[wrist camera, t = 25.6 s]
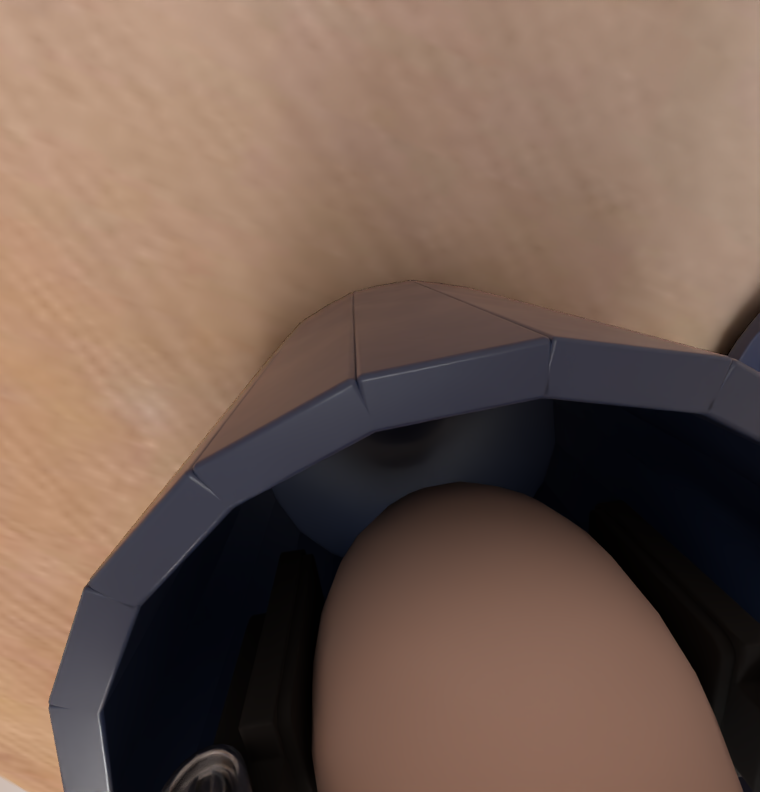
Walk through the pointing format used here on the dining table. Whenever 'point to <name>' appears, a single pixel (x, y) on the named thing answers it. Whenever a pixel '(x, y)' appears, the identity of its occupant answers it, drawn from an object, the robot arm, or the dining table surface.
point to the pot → (393, 489)
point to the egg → (501, 661)
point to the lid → (748, 345)
